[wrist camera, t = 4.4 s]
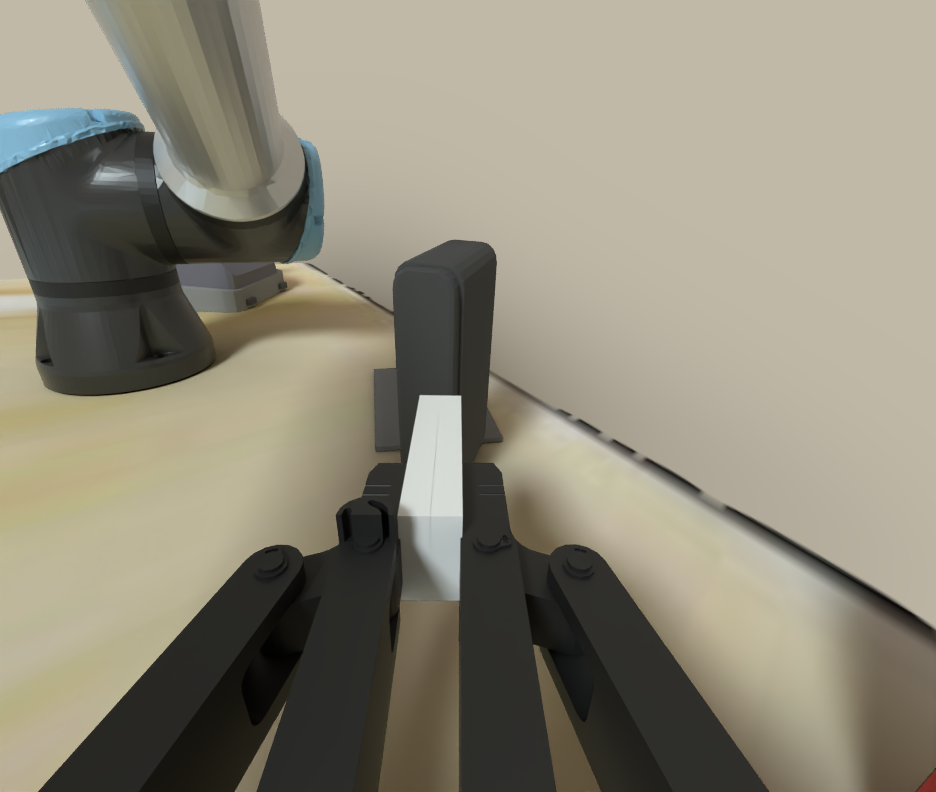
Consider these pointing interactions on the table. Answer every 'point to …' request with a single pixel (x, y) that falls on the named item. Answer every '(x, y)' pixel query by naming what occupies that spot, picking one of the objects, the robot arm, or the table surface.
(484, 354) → the card reader
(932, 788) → the canned food
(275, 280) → the grey tapered box
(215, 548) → the table surface
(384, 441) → the mat
